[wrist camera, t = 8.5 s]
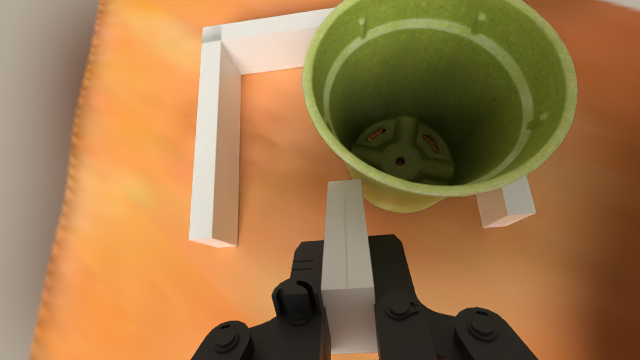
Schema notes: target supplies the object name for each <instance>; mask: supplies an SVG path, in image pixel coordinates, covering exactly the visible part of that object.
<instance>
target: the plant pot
mask: <svg viewBox="0 0 640 360" xmlns="http://www.w3.org/2000/svg"><path fill="white" fill-rule="evenodd" d="M302 87H303V93H304V99H305V102H306V106H307V109H308V112H309V115H310V117H311V119H312V122H313V124H314V126H315V128H316V129H317V131H318V133H319V134H320V136H321V137H322V139H323V140H324V141H325V143H326V144H327V145H328V146H329V147H330V149H331V150H332V151H333V152H334V153H335V154H336V155H337V156H338V157H340V158H341V159H342V160H343V161H344V162H345V164H346V166H347V169H348V172H349V174H350V177H351V180H352V179H361V187H362V195H363V197H364V198H365V199H366V200H367V201H368V202H370V203H371V204H373V205H374V206H376V207H378V208H381V209H385V210H388V211H393V212H399V213H412V212H417V211H421V210H424V209H426V208H428V207H430V206H432V205H434V204H436V203H437V202H439V201H441V200H443V199H444V198H452V197H465V196H473V195H478V194H483V193H487V192H490V191H493V190H497V189H500V188H502V187H504V186H507V185H509V184H511V183H514V182H515V181H517V180H519V179H521V178H523V177H524V176H526V175H528V174H529V173H531V172H532V171H534V170H535V169H536V168H538V167H539V166H540V165H542V164H543V163H544V162H545V161H546V160H547V159H548V158H549V157H550V156H551V155H552V154H553V153H554V152H555V151H556V149H557V148H558V147H559V145H560V144H561V143H562V141H563V140H564V138H565V136H566V135H567V133H568V131H569V129H570V127H571V125H572V123H573V119H574V115H575V109H576V105H577V96H578V84H577V78H576V72H575V68H574V65H573V61H572V58H571V56H570V54H569V52H568V50H567V48H566V46H565V44H564V43H563V41H562V40H561V38H560V37H559V35H558V34H557V32H556V31H555V30H554V29H553V27H552V26H551V25H550V24H549V23H548V22H547V21H546V20H545V19H544V18H543V17H542V16H541V15H539V14H538V13H537V12H536V11H535V10H534V9H533V8H532V7H530V6H529V5H527V4H526V3H525V2H523V1H522V0H344V1H343V2H341V3H340V4H339V5H338V6H337V7H335V9H334V10H333V11H332V12H331V13H330V14H329V15H328V16H327V17H326V18H325V19H324V21H323V22H322V23H321V25H320V26H319V27H318V29H317V30H316V32H315V34H314V36H313V38H312V39H311V42H310V44H309V47H308V49H307V53H306V57H305V60H304V66H303V73H302ZM379 129H385V130H386V132H384V133H382V134H380V135H377V136H376V137H375V138H373V139H372V140H371V141H367V140H368V138H367V137H368V136H369V135H371V134H372V133H373V132H375V131H376V130H379ZM423 135H427V136H429V137H431V138H432V139H433V140H434V142H435V143H436V144H437V146H438V148H439V152H438V153H436V152H434V150H433V149H432V147H431V146H430V144H429V143H428V142H427V141H426V140H424V138H423ZM401 157H402V158H403V159H404V160H405V163H404V164H402V165H397V164H396V160H397V159H398V158H401Z"/></svg>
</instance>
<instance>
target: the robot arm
mask: <svg viewBox="0 0 640 360" xmlns="http://www.w3.org/2000/svg"><path fill="white" fill-rule="evenodd" d="M271 296H272V300H273V303H274V307H275V311H276V315H277V316H276V317H275V318H273V319H272V320H270V321H268V322H266V323H263V324H260V325H257V326H254V327H251V328H248V327H247V325H246V324H245V323H243V322H240V321H228V322H225V323H222V324H220V325H218V326H217V327H215V328H214V329H212V330H211V332H210V333H209V334H208V335H207V336H206V337H205V339H204V340H203V342H202V343H201V345H200V346H199V348H198V349H197V351H196V352H195V354H194V355H193V357H192V358H191V360H331V351H332V354H346V353H374V352H378V355H379V360H538V359H537V357H536V356H535V355H534V354H533V353H532V352H531V350H530V349H529V348H528V347H527V346H526V344H525V343H524V342H523V341H522V340H521V339H520V337H519V336H518V335H517V334H516V333H515V332H514V330H513V329H512V328H511V327H510V326H509V325H508V323H507V322H506V321H505V320H504V319H502V318H501V317H500V316H499V315H498V314H496V313H494V312H492V311H490V310H488V309H483V308H478V307H475V308H466V309H464V310H462V311H460V312H459V313H458V315H457V316H456V317H454V316H450V315H445V314H441V313H438V312H434V311H432V310H430V309H428V308H427V307H425V306H424V305H423V304H422V303H421V302H420V301H419V300H418V298H417V296H416V294H415V290H414V286H413V283H412V279H411V275H410V272H409V268H408V264H407V260H406V257H405V254H404V249H403V245H402V242H401V241H400V240H399V239H398V238H397V237H396V236H395V235H394V234H390V235H377V236H368V235H367V227H366V219H365V211H364V203H363V195H362V187H361V179H352V180H341V181H331V182H328V191H327V206H326V221H325V236H324V240H321V241H308V242H301V244H300V245H299V246H298V248H297V249H296V250H295V254H294V259H293V265H292V271H291V276H290V279H287V280H285V281H284V282H282V283H280V284H279V285H278V286H277V287H276V288H275V289H274V291H273V293H272V295H271Z"/></svg>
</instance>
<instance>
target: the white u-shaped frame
mask: <svg viewBox="0 0 640 360" xmlns="http://www.w3.org/2000/svg"><path fill="white" fill-rule="evenodd" d="M334 9H335V8H329V9H322V10H315V11H309V12H302V13H295V14H289V15H282V16H275V17H269V18H262V19H256V20H249V21H242V22H236V23H229V24H222V25H216V26H209V27H203V39H202V53H201V68H200V83H199V98H198V112H197V127H196V142H195V157H194V171H193V186H192V201H191V216H190V230H189V240H191V241H195V242H199V243H203V244H206V245H210V246H214V247H218V248H220V247H233V246H238V204H239V159H240V115H241V75H245V74H252V73H260V72H267V71H275V70H282V69H290V68H297V67H303V66H304V60H305V57H306V53H307V49H308V47H309V44H310V42H311V39H312V38H313V36H314V34H315V32H316V30H317V29H318V27H319V26H320V25H321V23H322V22H323V21H324V19H325V18H326V17H327V16H328V15H329V14H330V13H331V12H332V11H333V10H334ZM476 198H477V203H478V208H479V213H480V217H481V222H482V227H483V228H491V227H504V226H508V225H510V224H512V223H515V222H517V221H519V220H521V219H524V218H526V217H528V216H531V215H533V214H535V213H536V210H535V206H534V202H533V198H532V195H531V191H530V187H529V183H528V179H527V175H526V176H524V177H523V178H521V179H519V180H517V181H515V182H514V183H511V184H509V185H507V186H504V187H502V188H500V189H497V190H493V191H490V192H487V193H483V194H478V195H476Z"/></svg>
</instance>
